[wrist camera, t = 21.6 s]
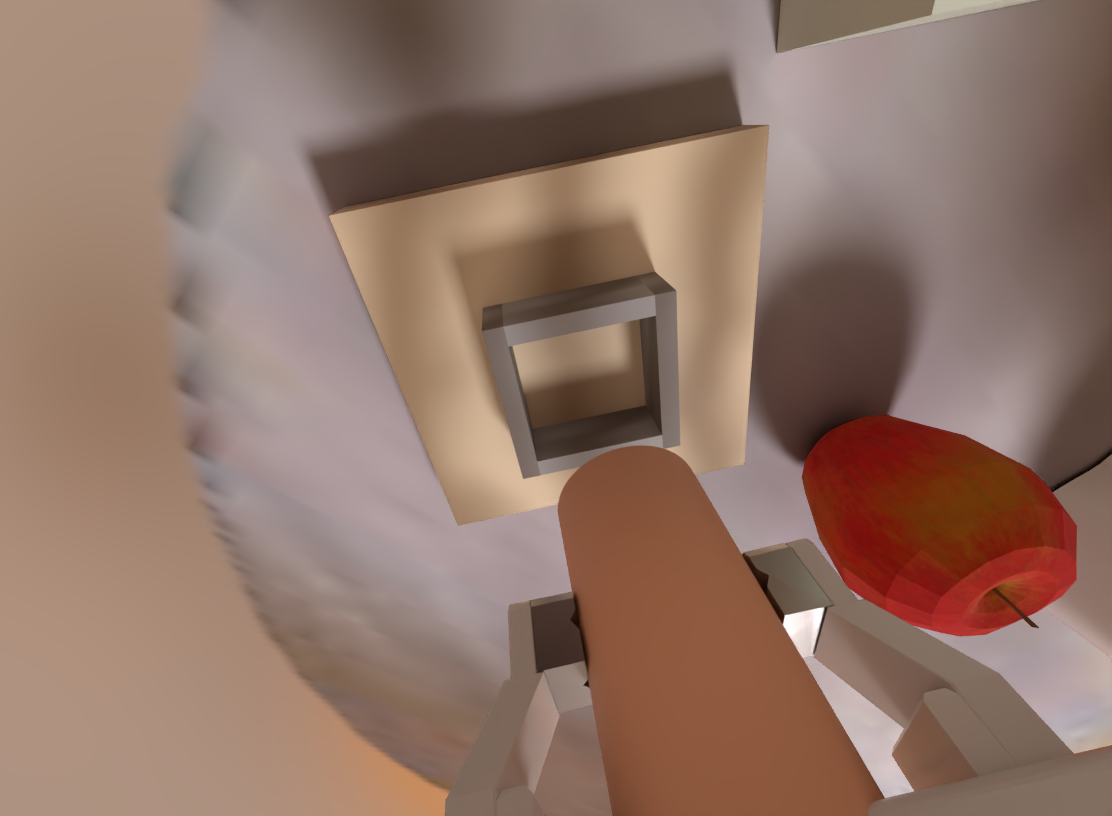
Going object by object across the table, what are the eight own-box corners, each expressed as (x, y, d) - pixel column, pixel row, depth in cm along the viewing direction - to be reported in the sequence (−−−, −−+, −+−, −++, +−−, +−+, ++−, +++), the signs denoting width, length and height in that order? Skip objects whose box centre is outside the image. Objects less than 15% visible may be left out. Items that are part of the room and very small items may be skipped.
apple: (936, 369, 26) (1228, 529, 15) (886, 487, 30) (1084, 669, 20) (778, 390, 25) (974, 571, 15) (753, 508, 30) (888, 704, 20)
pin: (696, 431, 12) (971, 838, 5) (695, 534, 14) (888, 915, 7) (545, 463, 12) (625, 921, 5) (569, 562, 14) (645, 972, 7)
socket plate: (743, 124, 18) (810, 125, 14) (728, 442, 27) (767, 495, 23) (344, 206, 18) (304, 229, 14) (460, 499, 26) (454, 563, 23)
